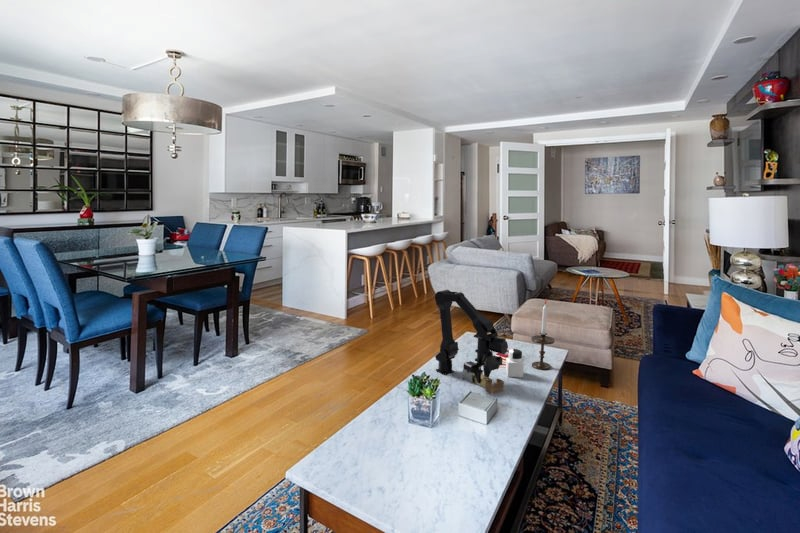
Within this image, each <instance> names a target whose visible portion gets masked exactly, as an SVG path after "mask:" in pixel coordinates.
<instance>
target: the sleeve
mask: <svg viewBox="0 0 800 533" xmlns="http://www.w3.org/2000/svg"><path fill="white" fill-rule="evenodd" d="M481 374H483V375H484V371H483V372H482V373H481ZM462 380H465V381H466V382H468V383H471V384H474V382H473V374H472V373H470V372H469V371H467V370H465V369H464V368H463V369H462Z"/></svg>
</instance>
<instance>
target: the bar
mask: <svg viewBox="0 0 800 533" xmlns="http://www.w3.org/2000/svg"><path fill="white" fill-rule="evenodd" d="M470 373H472V372H470ZM472 374H473V383H475V384H477V385H479V386H480V387H483V388H484V389H486V383H487V382H490V383H492V384H493V378H490V376H489V377H487V376H485V375H484V373H483V374H481V381H480V383H478V382H477V379H476V377H475V375H474V373H472Z"/></svg>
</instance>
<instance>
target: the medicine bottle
mask: <svg viewBox="0 0 800 533" xmlns="http://www.w3.org/2000/svg"><path fill="white" fill-rule="evenodd" d="M522 357H523V351H521V350H520V349H519V348H511V349H509V350H508V357H506V360H505V373H506V375H507V377H508V378H524V368H525V366H524V365H525V363H524V361H523V359H522Z"/></svg>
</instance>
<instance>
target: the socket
mask: <svg viewBox="0 0 800 533" xmlns="http://www.w3.org/2000/svg"><path fill="white" fill-rule="evenodd" d="M504 388H505V381H504V380H502V379H500V378H496V382H494V383H493V382H492V383H490V382H487V383H486V388H485V392H487V393H489V394H491V395H493V394H497V393H500V392H503V391H504V390H505V389H504Z"/></svg>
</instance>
